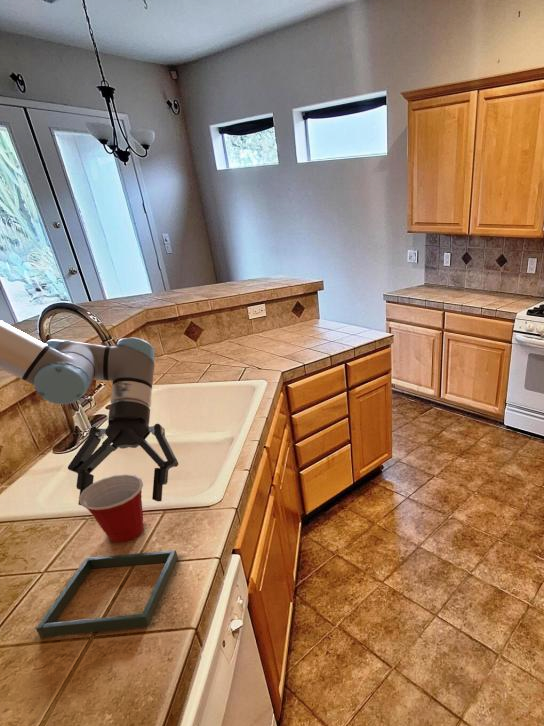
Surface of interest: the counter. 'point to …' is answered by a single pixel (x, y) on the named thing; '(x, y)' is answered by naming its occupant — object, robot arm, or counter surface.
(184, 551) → the counter surface
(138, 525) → the plastic cup
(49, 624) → the grey square frame
